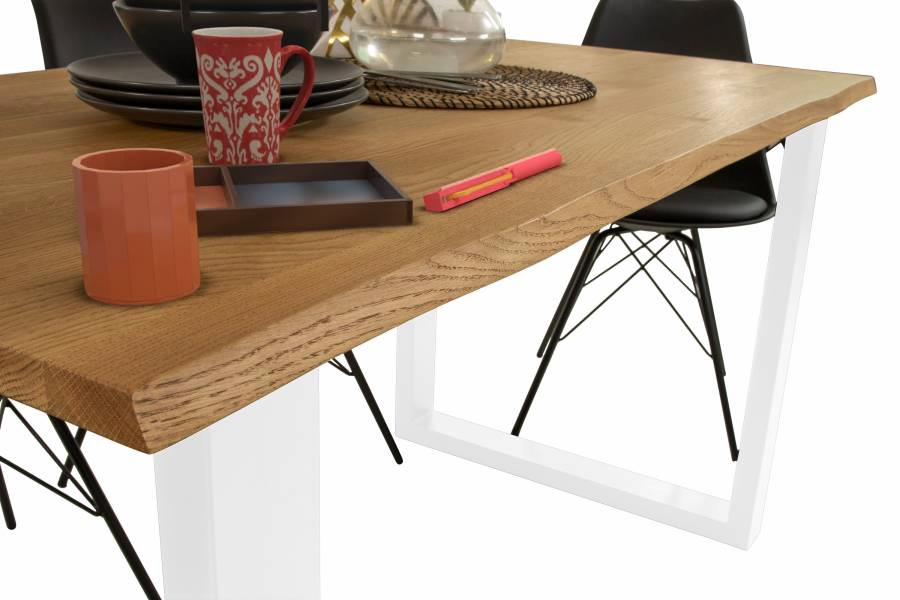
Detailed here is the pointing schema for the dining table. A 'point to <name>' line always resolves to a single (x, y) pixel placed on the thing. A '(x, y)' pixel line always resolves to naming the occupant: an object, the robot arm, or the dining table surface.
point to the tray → (297, 197)
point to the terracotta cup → (137, 225)
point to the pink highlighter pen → (490, 181)
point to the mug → (246, 92)
